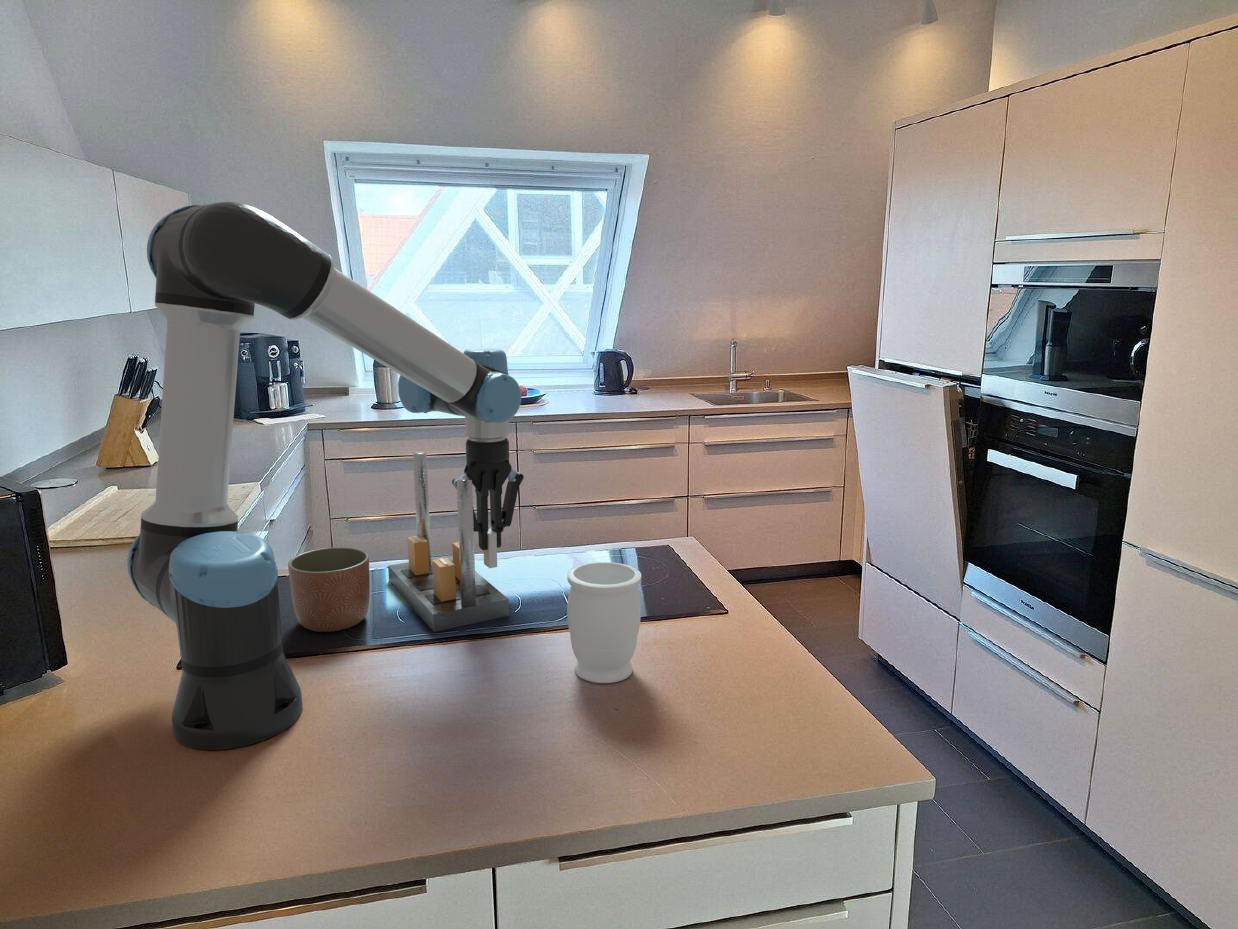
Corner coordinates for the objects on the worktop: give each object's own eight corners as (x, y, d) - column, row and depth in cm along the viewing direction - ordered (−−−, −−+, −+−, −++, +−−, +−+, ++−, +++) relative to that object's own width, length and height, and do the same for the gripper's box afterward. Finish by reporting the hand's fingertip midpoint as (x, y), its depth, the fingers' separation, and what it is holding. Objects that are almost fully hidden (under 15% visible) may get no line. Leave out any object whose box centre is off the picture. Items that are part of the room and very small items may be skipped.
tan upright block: (474, 579, 145) (473, 546, 144) (461, 581, 144) (460, 548, 143) (466, 572, 149) (465, 539, 147) (453, 574, 147) (452, 541, 146)
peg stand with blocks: (509, 615, 138) (506, 477, 132) (434, 632, 131) (427, 486, 126) (455, 569, 159) (451, 448, 154) (388, 580, 153) (381, 455, 148)
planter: (300, 644, 126) (295, 577, 124) (287, 616, 137) (281, 554, 134) (381, 628, 133) (377, 564, 130) (362, 602, 143) (358, 542, 140)
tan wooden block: (429, 573, 148) (427, 540, 147) (415, 575, 147) (414, 542, 145) (422, 566, 151) (420, 534, 150) (409, 568, 150) (407, 536, 149)
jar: (654, 670, 119) (656, 573, 116) (605, 696, 112) (605, 593, 108) (602, 648, 126) (602, 555, 123) (552, 671, 119) (551, 573, 115)
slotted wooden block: (456, 598, 136) (454, 563, 135) (441, 601, 135) (440, 566, 134) (447, 591, 140) (446, 556, 138) (433, 593, 138) (432, 558, 137)
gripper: (513, 431, 150) (515, 553, 155) (444, 437, 143) (449, 565, 148) (530, 438, 143) (532, 565, 149) (459, 444, 137) (463, 578, 142)
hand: (490, 565), depth 149 cm, fingers closed
